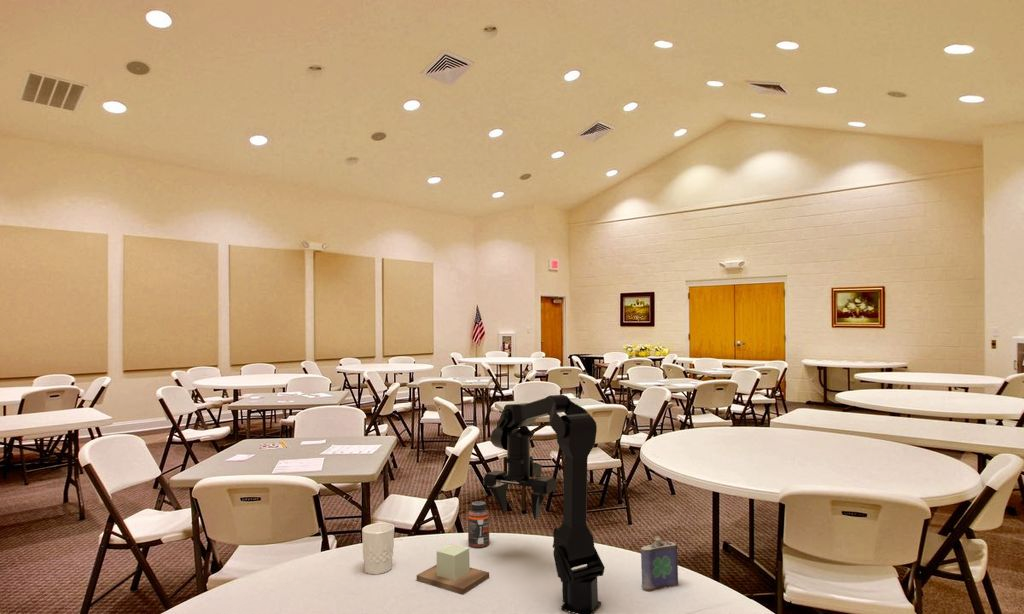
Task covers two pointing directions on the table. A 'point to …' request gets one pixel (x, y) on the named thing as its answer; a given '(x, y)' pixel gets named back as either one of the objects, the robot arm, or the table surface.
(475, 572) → the walnut board
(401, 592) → the table surface
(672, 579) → the flask
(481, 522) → the supplement bottle
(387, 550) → the white cup
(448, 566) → the sage cube
